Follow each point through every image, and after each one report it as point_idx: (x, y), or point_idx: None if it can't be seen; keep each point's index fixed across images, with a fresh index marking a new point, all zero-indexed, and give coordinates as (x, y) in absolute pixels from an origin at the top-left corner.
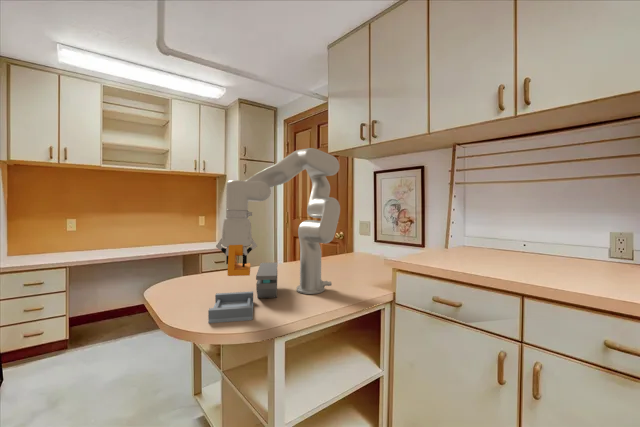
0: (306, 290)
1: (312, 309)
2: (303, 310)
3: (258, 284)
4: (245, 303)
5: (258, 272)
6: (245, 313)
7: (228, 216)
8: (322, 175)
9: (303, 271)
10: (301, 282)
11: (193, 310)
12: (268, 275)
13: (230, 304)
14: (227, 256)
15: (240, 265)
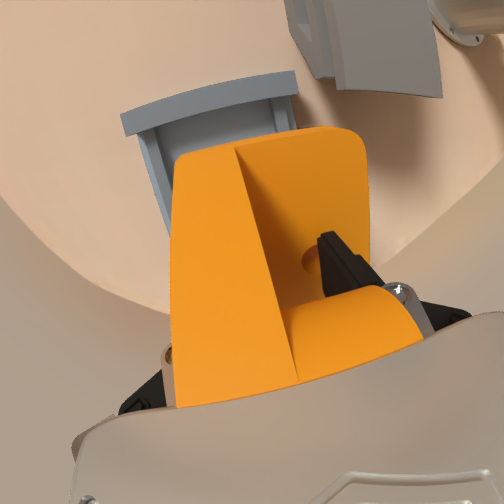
0: (451, 25)
1: (457, 169)
2: (440, 175)
3: (334, 77)
4: (265, 129)
5: (339, 3)
6: None
7: None
8: None
9: (490, 8)
10: (452, 2)
11: (88, 186)
12: (409, 86)
13: (205, 144)
14: None
15: (294, 233)
